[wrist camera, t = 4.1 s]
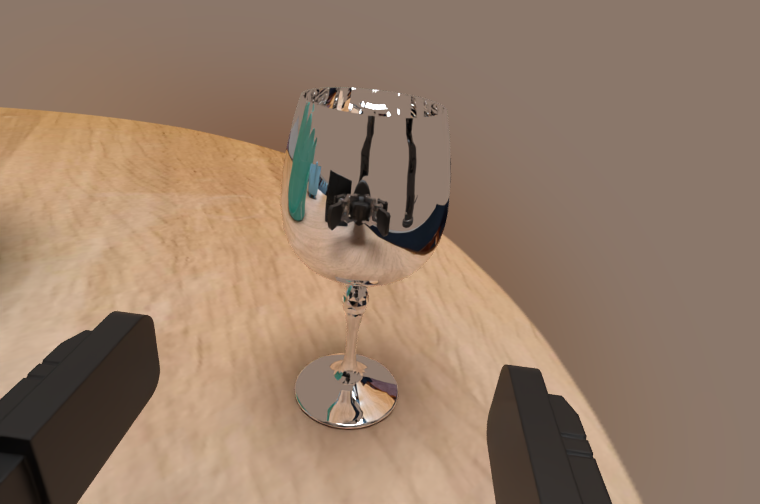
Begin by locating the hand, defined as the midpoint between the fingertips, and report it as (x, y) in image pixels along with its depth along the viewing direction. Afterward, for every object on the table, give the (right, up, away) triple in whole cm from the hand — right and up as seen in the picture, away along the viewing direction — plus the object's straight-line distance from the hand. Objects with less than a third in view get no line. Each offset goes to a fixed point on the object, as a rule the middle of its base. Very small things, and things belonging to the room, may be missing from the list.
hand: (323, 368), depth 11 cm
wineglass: (0, -3, +10) cm, 10 cm away
